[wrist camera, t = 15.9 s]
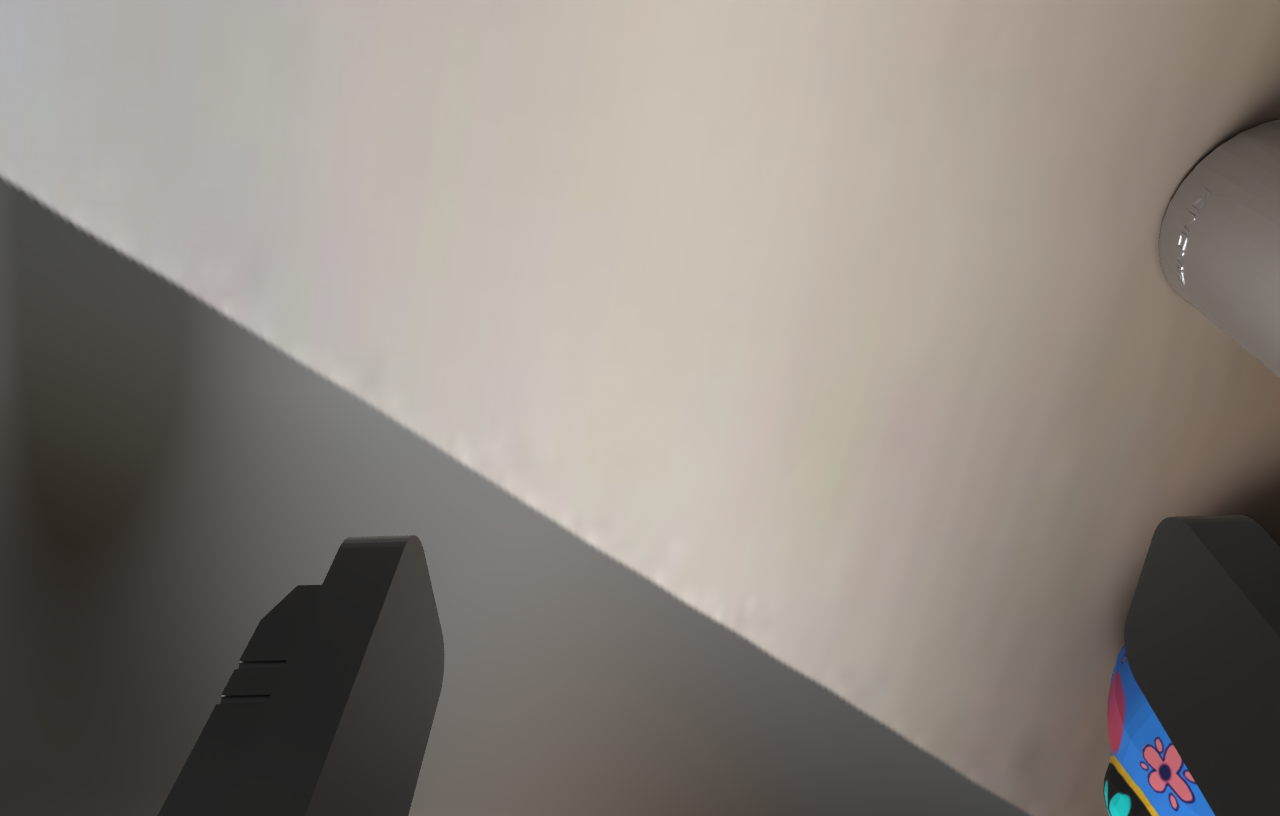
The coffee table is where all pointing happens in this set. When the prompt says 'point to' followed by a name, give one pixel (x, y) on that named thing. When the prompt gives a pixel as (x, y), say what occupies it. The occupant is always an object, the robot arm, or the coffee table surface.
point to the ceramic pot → (1144, 758)
